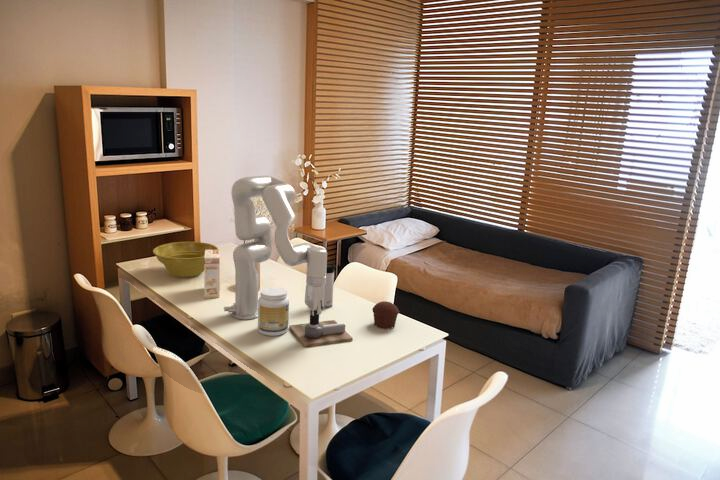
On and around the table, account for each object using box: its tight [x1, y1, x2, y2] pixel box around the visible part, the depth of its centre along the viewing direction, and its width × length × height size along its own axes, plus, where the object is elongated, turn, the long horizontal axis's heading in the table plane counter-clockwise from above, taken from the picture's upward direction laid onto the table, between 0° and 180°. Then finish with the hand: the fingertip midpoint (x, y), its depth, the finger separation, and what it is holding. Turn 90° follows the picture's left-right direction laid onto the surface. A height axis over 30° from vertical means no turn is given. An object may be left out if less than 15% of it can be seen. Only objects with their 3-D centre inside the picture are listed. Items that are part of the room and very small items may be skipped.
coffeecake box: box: [203, 249, 221, 299], centre depth 249 cm, size 15×7×20 cm, turn 14°
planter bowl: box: [152, 241, 219, 278], centre depth 274 cm, size 32×32×13 cm
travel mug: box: [324, 263, 336, 309], centre depth 241 cm, size 6×7×20 cm
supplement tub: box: [257, 286, 290, 337], centre depth 211 cm, size 12×12×17 cm
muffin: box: [372, 300, 400, 330], centre depth 225 cm, size 12×11×10 cm
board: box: [288, 319, 353, 348], centre depth 212 cm, size 20×19×1 cm
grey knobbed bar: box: [305, 322, 346, 339], centre depth 209 cm, size 16×7×4 cm, turn 115°
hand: (314, 323), depth 207 cm, fingers closed
